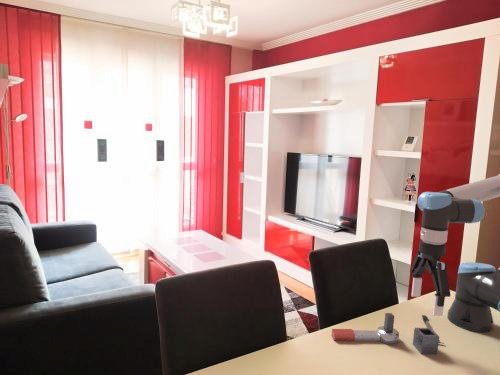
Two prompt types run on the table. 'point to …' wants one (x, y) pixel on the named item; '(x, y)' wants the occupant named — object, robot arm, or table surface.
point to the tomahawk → (429, 325)
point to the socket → (426, 340)
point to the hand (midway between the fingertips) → (426, 305)
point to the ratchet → (370, 333)
